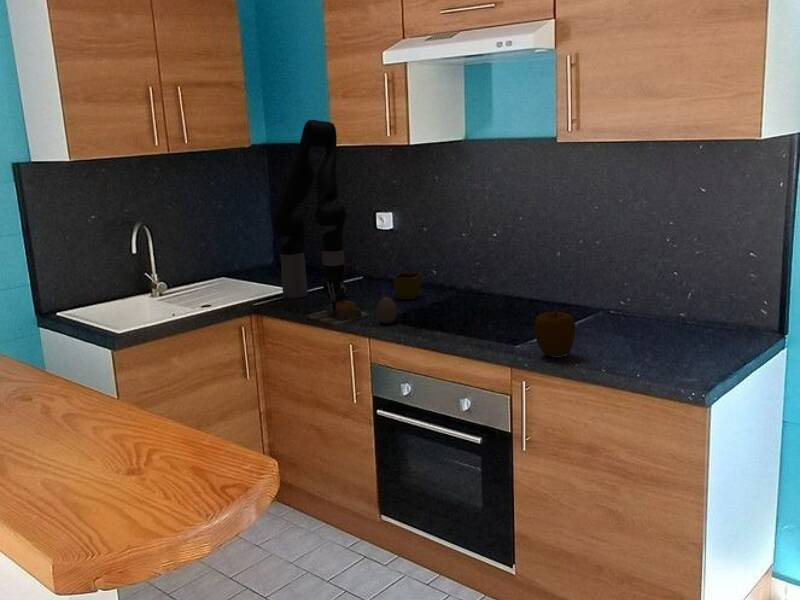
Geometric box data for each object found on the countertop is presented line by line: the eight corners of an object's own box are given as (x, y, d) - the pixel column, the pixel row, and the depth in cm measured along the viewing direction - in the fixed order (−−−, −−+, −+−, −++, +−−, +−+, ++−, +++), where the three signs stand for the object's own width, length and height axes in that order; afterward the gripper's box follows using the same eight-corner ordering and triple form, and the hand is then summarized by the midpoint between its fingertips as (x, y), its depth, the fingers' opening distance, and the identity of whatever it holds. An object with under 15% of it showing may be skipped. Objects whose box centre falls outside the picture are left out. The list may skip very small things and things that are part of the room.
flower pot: (416, 301, 297) (414, 277, 295) (393, 301, 300) (392, 277, 298) (423, 296, 305) (421, 272, 303) (401, 295, 308) (399, 272, 306)
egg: (373, 324, 268) (371, 298, 266) (385, 320, 273) (384, 293, 271) (389, 327, 264) (387, 300, 262) (401, 322, 269) (399, 295, 267)
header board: (305, 316, 283) (304, 304, 282) (342, 308, 293) (341, 295, 292) (335, 325, 269) (334, 312, 268) (373, 316, 279) (372, 303, 278)
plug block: (336, 316, 279) (335, 301, 277) (345, 314, 281) (344, 299, 280) (346, 319, 274) (345, 303, 273) (356, 317, 276) (355, 301, 275)
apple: (531, 360, 222) (530, 315, 219) (540, 349, 231) (540, 305, 229) (571, 363, 217) (570, 317, 215) (579, 352, 227) (579, 307, 224)
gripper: (353, 263, 274) (356, 312, 279) (331, 258, 284) (334, 305, 289) (335, 267, 270) (338, 316, 274) (313, 261, 280) (317, 309, 284)
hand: (336, 310), depth 282 cm, fingers closed
